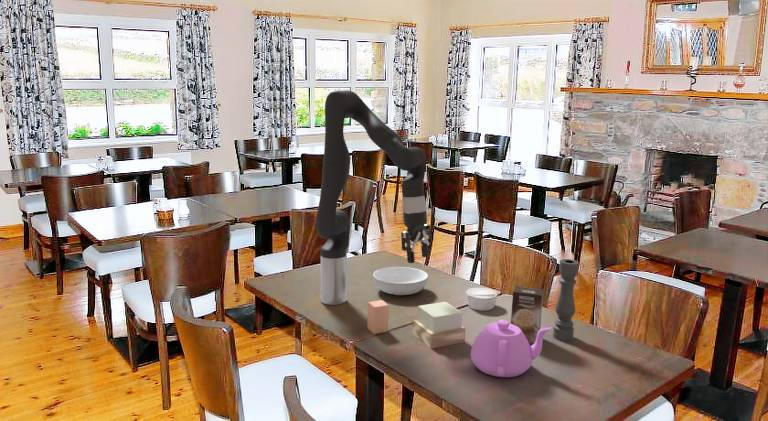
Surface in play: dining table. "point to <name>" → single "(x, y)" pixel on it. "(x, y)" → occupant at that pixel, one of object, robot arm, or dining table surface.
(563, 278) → the candle holder
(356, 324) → the dining table surface
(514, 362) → the teapot
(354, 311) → the dining table surface
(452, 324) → the tower top block
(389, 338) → the dining table surface
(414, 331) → the tower base block
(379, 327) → the terracotta block
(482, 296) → the ramekin
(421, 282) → the serving bowl
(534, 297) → the coffee box
